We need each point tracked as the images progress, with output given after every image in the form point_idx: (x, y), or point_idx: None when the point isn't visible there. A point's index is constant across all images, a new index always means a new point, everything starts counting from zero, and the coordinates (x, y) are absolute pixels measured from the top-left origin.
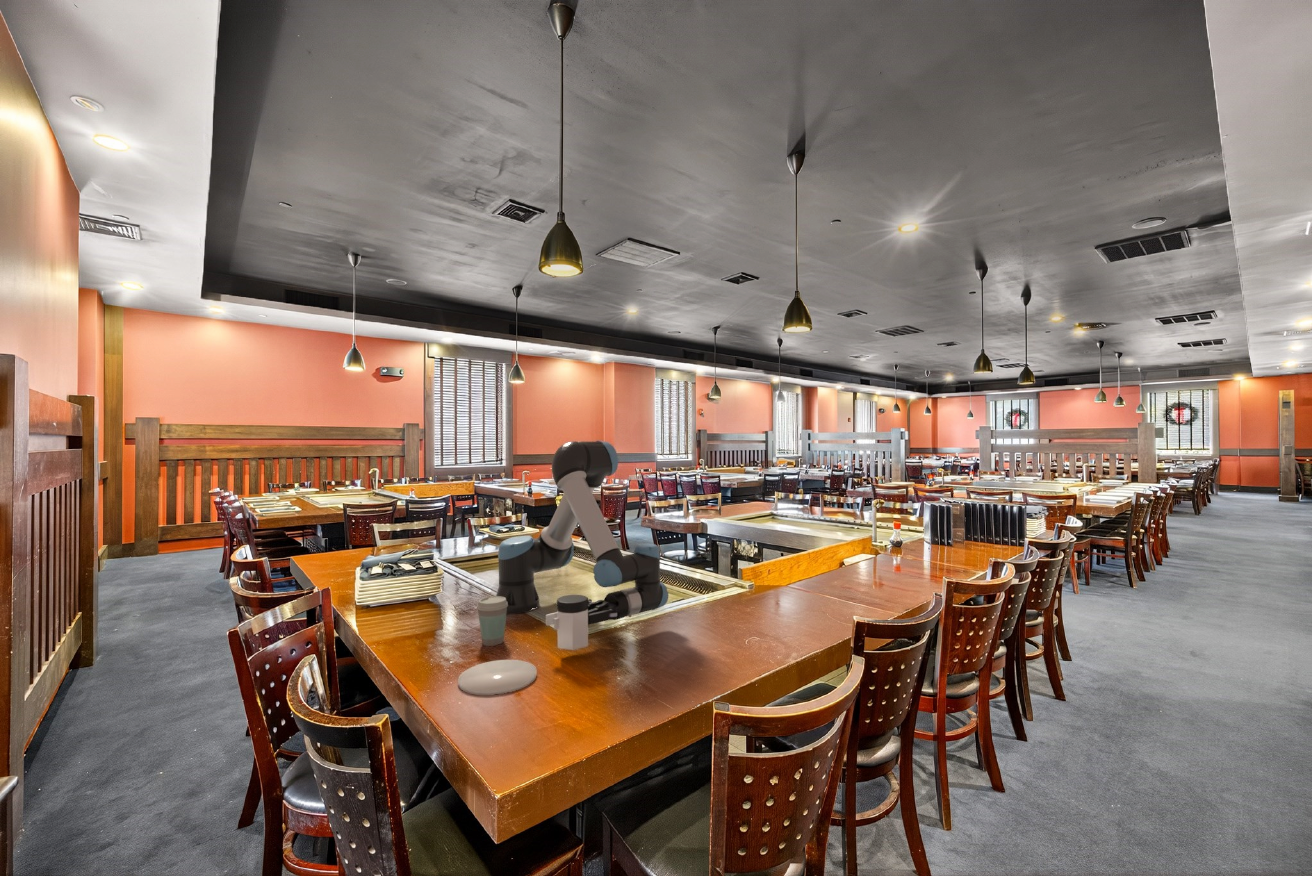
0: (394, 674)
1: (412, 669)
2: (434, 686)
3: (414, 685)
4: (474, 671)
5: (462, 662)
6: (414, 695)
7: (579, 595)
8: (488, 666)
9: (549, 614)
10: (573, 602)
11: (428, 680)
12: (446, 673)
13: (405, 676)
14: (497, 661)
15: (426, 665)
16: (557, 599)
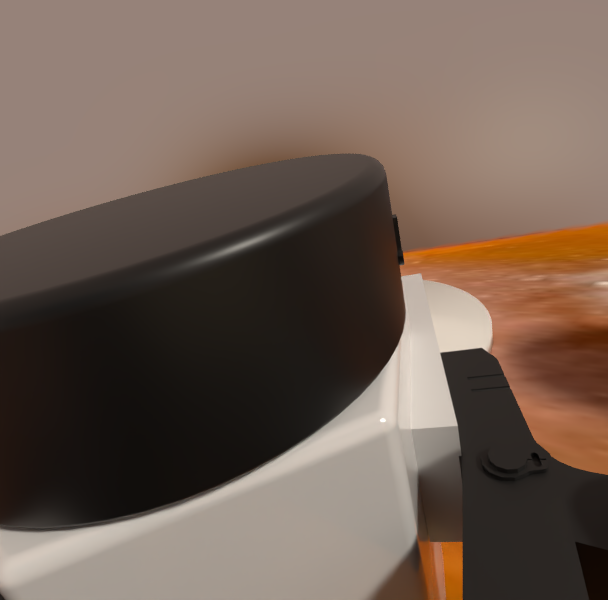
0: (564, 229)
1: (583, 241)
2: (428, 266)
3: (463, 249)
4: (430, 298)
5: (583, 299)
6: (408, 252)
7: (106, 258)
8: (445, 320)
9: (405, 286)
10: (57, 217)
11: (475, 260)
12: (500, 277)
13: (535, 239)
14: (476, 340)
15: (603, 253)
16: (300, 158)
